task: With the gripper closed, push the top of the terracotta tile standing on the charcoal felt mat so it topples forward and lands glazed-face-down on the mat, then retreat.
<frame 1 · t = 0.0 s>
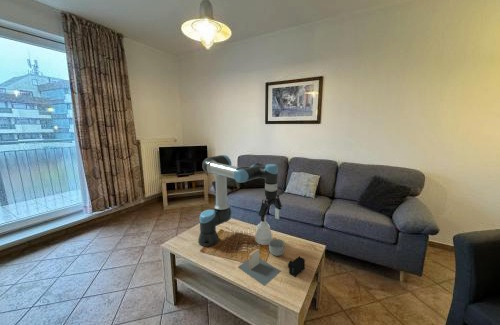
hand: (270, 222, 130), 28 cm above the table, fingers open, 13 cm apart
tile: (254, 266, 131), resting on mat
mat: (259, 269, 128), on the table
digital camera: (296, 271, 128), on the table
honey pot: (263, 240, 161), on the table
teacup: (276, 252, 146), on the table
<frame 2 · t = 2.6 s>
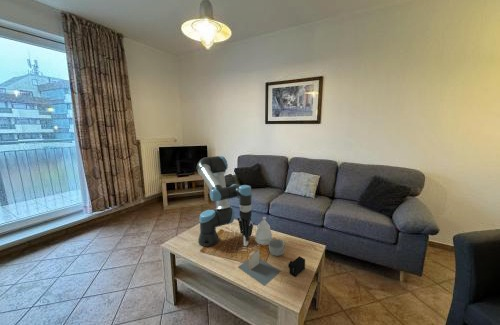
hand: (245, 244, 134), 12 cm above the table, fingers closed
nothing on the table moved.
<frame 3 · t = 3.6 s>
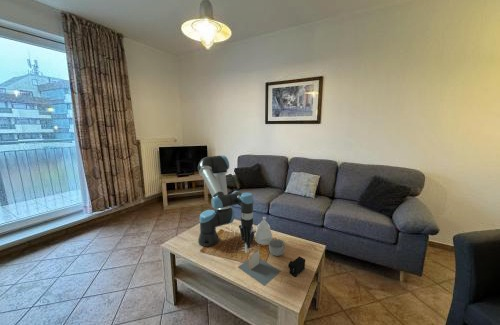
hand: (247, 251, 134), 8 cm above the table, fingers closed
nothing on the table moved.
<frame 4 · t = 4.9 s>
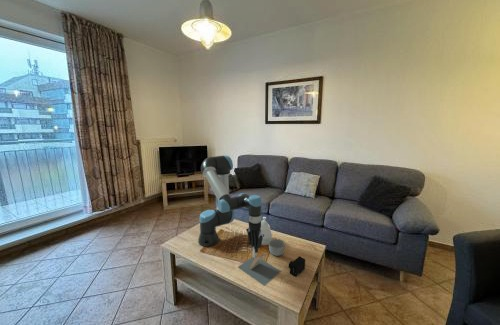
hand: (254, 256, 129), 8 cm above the table, fingers closed
tile: (254, 265, 131), point 1 cm above the table, tilted 28°, touching mat
everything else where it was.
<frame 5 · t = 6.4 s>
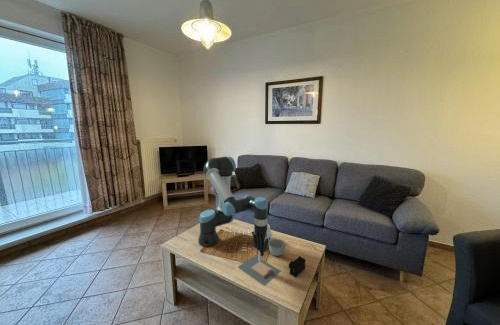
hand: (260, 259, 126), 7 cm above the table, fingers closed
tile: (255, 265, 130), point 1 cm above the table, tilted 90°, touching mat
everything else where it was.
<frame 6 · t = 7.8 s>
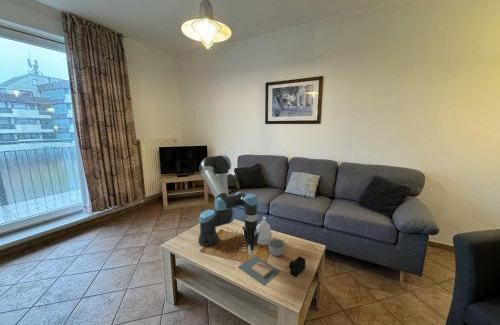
hand: (250, 253, 132), 7 cm above the table, fingers closed
nothing on the table moved.
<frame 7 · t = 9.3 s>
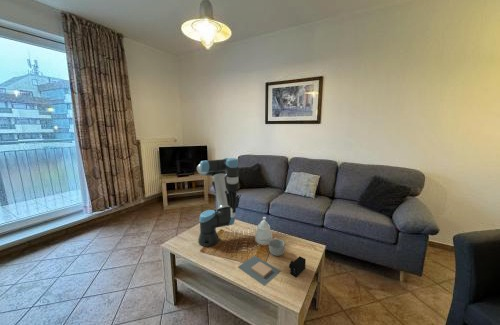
hand: (232, 216, 138), 28 cm above the table, fingers closed
nothing on the table moved.
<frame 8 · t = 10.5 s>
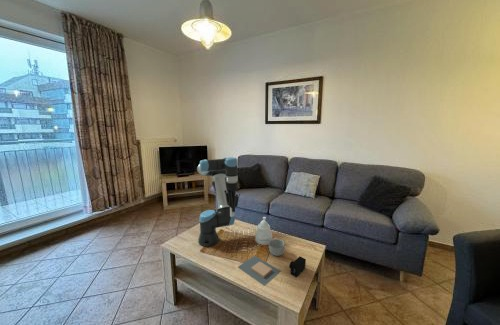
hand: (232, 216, 138), 28 cm above the table, fingers closed
nothing on the table moved.
at the end: tile tilted 90°; tile inside the target area on the mat (3.5 cm from its centre), point 1.3 cm above the mat's base; the gripper is holding nothing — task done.
